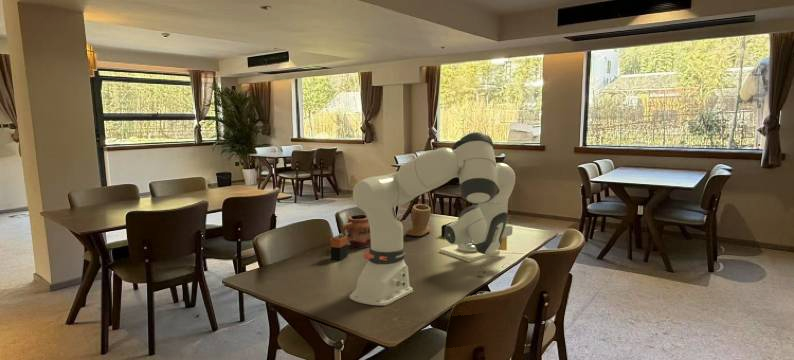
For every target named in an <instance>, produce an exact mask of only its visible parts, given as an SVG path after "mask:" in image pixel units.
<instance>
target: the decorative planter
mask: <svg viewBox="0 0 794 360" xmlns="http://www.w3.org/2000/svg"><path fill="white" fill-rule="evenodd" d="M345 231H346V233H345ZM341 234H343V235H344V236H347V241H349V243H350V246H351V247H353V248H358V249H360V248H361V249H362V248H367V247H368V248H369V247H371V238H370V226H369V222H368V219H367V217H366V215H365V214H357V215H352V216H351V215H350V216H349V217H348V220H347V222H346V223H345V224H343V225H342V227H341ZM346 234H347V235H346Z"/></svg>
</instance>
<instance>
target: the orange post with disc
mask: <svg viewBox="0 0 794 360" xmlns="http://www.w3.org/2000/svg"><path fill="white" fill-rule="evenodd" d="M508 207H509V204H508V205H507V213H508V210H509V209H508ZM506 224H507V225H508V222H507V223H506ZM502 239H503V240H502V244H501V246H500V248H499V249H497V250H500V251H507V250H508V249H507V248H508V246H507V245H508V236H507V237H503V238H502ZM458 250H459V251H462V252H478V251H477V249H476V247H475V245H474V242H473V241H471V242H469V243H465V244H458Z"/></svg>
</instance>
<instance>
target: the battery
mask: <svg viewBox="0 0 794 360" xmlns="http://www.w3.org/2000/svg"><path fill="white" fill-rule="evenodd" d="M347 236H348V235H346V236H344V235H343V234H342V233H338V235H334V237H331V238H330V258H331V261H337V262H340V261H342V260H344V259H346V258H348V256H349V255H348V254H349V253H348V250H349V249H348V239H347Z"/></svg>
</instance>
